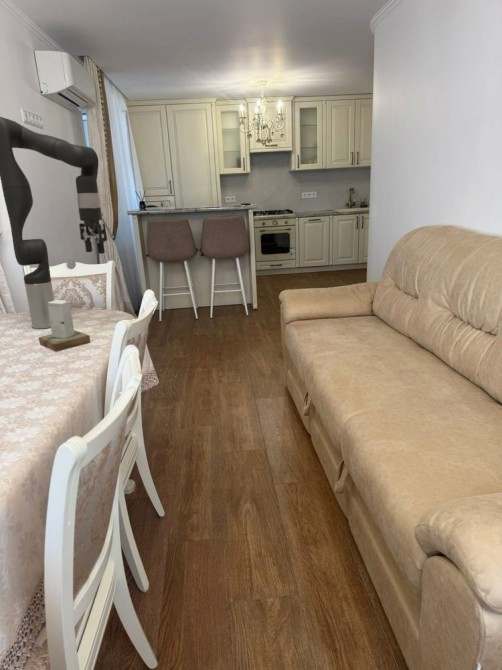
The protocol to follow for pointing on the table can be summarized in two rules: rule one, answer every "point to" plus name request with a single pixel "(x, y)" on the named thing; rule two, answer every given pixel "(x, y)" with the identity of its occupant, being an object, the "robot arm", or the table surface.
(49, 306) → the skincare box
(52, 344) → the block
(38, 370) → the table surface
